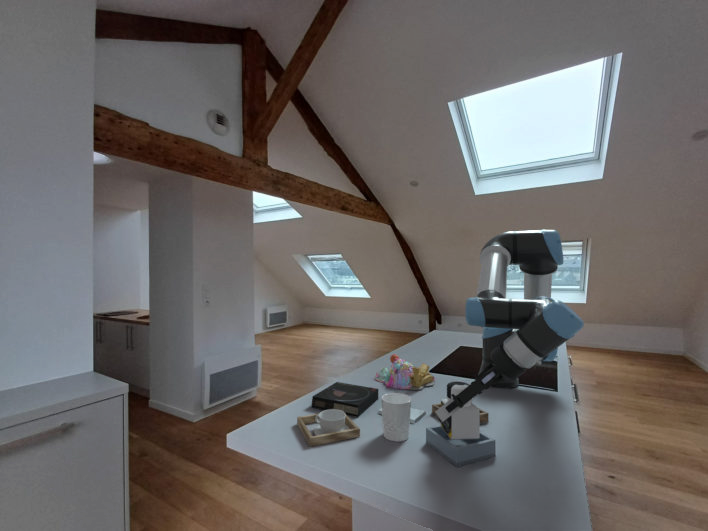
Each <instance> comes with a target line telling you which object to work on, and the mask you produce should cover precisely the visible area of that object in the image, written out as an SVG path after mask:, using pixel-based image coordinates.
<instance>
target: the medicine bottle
mask: <svg viewBox="0 0 708 531" xmlns="http://www.w3.org/2000/svg"><path fill="white" fill-rule="evenodd" d="M469 385H470V384H469V383H467V382H464V381H451V382H449V383H447V384H446V398H441V399H440V403H441V407H442V406H443V405H444V404H445V403H447V402H448V401H449V400H450V399H452V398H453V397H452V396H451V395H452V394H454V395H458V394H459V393H460V392H461V391H463V390H464V389H465V388H466V387H468V386H469ZM479 409H480V408H479V407H478V406H476V405H475V404H474V403H473V398H472V399H471V400H470V401H469V402H467V403H466V404H465V405H464V406H463V407H462V408H460V409H459V410H457V411H456V412H455V413H454V414H452V415H451V416H450V417H448V418H447V419H446V420H445V421H443V422H442V420H441V419H440V425H441V427H442V428H443V430H444V431H445V432H446V434H447V435H448V436H449V437H450V439H451V440H458V439H479V438H480V431H481V430H480V424H481V423H480V420H479Z"/></svg>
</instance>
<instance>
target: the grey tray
mask: <svg viewBox="0 0 708 531" xmlns="http://www.w3.org/2000/svg"><path fill="white" fill-rule="evenodd" d="M425 443H426V444H427V445H428V446H429V447H431V448H432V449H433V450H435V451H436V452H437V453H439V454H440V455H441V456H442V457H443V458H445V459H446V460H447V459H448V460H447V461H448V462H450V463H451V464H453V466H455V467H456V468H457V467H461V466H465V465H468V464H473V463H476V462H480V461H483V460H486V459H490V458H494V457H496V439H494V438H492V437H491V436H489V435H488V434H486V433H484V432H482V431H481V430H480V438H479V439H458V440H451V439H450V437H449V436H448V435H447V434H446V432H445V431H444V430H443V428H442V427H441V424H438V425H437V424H436V425H432V426H428V427H425Z"/></svg>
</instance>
